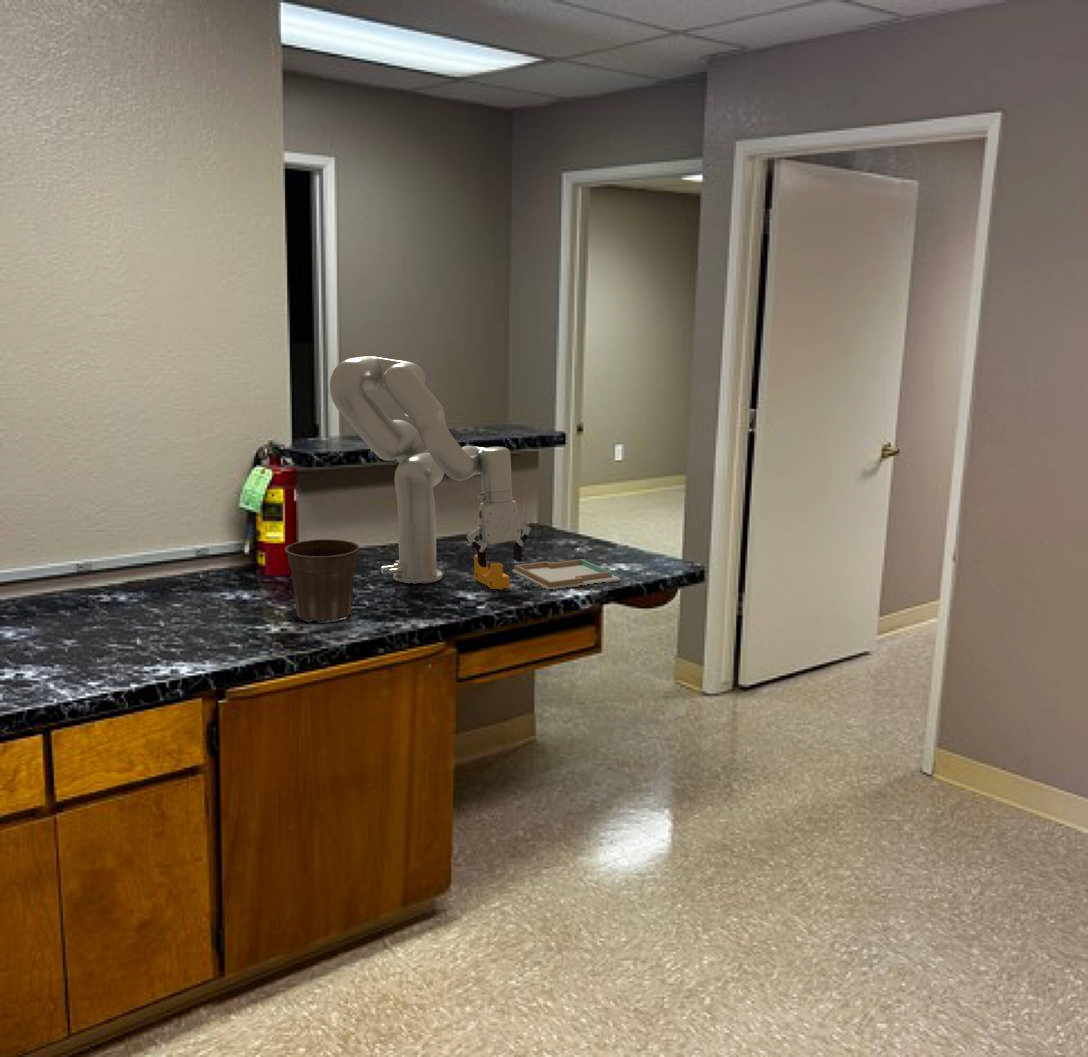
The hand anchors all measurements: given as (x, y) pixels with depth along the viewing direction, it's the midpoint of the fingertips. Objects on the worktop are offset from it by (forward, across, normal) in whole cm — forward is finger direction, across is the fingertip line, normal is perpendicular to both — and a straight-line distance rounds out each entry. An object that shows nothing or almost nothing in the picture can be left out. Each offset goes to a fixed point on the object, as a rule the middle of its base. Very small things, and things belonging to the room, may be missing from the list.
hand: (500, 563), depth 272 cm
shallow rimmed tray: (+6, +18, -1) cm, 19 cm away
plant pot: (+4, -48, -8) cm, 49 cm away
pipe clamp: (+5, -2, +1) cm, 6 cm away
